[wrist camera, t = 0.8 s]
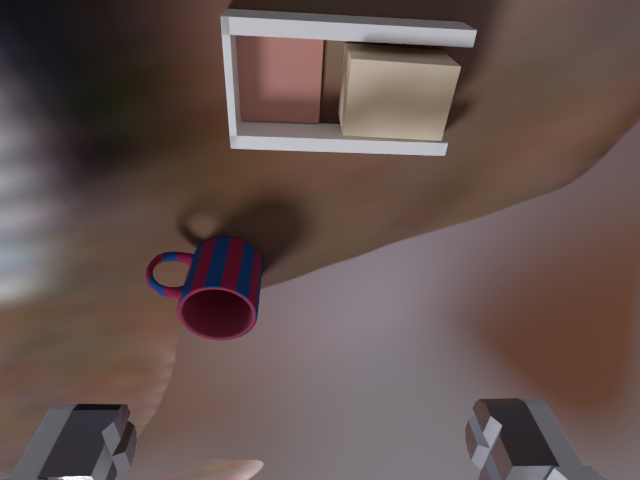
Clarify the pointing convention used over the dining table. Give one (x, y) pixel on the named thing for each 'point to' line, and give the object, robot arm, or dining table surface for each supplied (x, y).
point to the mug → (215, 288)
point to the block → (396, 92)
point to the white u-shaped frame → (309, 77)
